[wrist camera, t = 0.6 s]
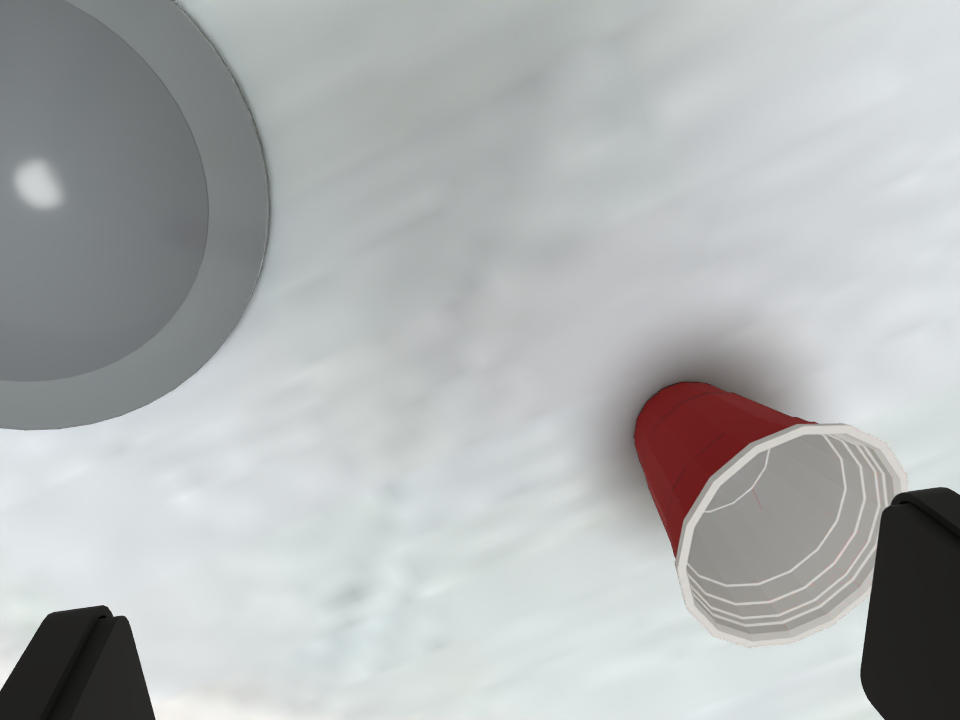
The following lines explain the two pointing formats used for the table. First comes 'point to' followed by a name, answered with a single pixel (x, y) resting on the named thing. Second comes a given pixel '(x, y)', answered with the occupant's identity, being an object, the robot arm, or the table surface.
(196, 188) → the dish
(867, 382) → the table surface
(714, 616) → the plastic cup
